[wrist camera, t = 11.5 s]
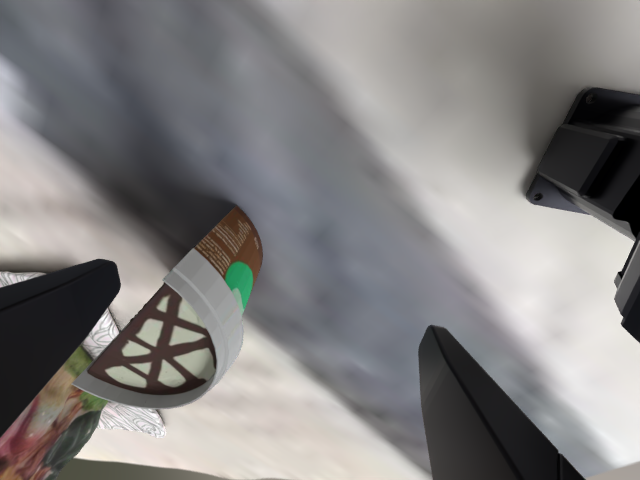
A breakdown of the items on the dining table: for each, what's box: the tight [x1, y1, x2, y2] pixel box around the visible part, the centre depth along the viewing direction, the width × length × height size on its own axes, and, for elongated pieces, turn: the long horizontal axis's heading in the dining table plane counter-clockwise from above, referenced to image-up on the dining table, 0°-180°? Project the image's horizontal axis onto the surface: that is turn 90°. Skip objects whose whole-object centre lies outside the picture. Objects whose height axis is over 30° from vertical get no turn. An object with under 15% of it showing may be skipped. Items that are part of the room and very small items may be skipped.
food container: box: [72, 205, 263, 409], centre depth 20 cm, size 12×6×10 cm, turn 136°
